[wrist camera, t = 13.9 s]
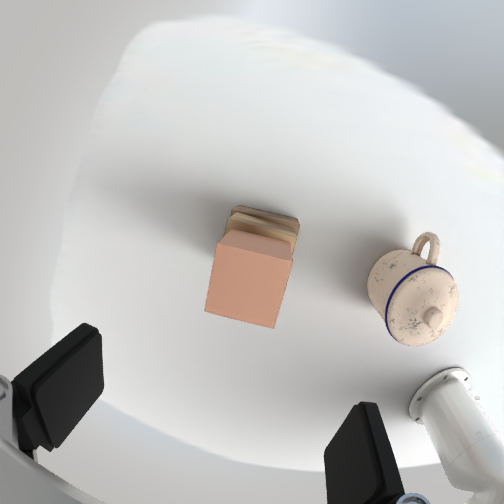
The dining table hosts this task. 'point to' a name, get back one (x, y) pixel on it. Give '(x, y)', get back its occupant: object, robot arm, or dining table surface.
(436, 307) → the teacup with lid
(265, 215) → the tower base
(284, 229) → the block
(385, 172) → the dining table surface
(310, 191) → the dining table surface
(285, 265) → the terracotta block
